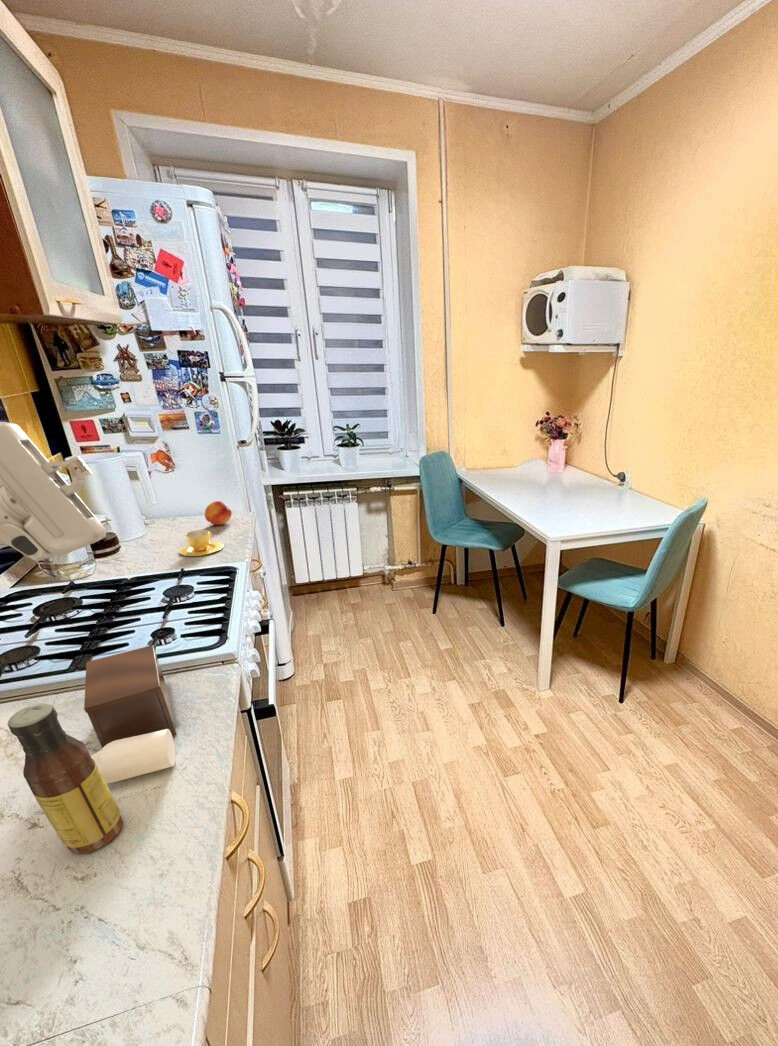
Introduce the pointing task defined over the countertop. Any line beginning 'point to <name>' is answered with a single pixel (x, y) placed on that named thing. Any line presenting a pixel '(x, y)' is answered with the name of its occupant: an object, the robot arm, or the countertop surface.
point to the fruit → (217, 513)
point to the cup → (200, 543)
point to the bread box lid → (121, 678)
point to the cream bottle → (136, 756)
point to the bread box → (135, 716)
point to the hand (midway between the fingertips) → (84, 464)
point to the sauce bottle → (65, 780)
